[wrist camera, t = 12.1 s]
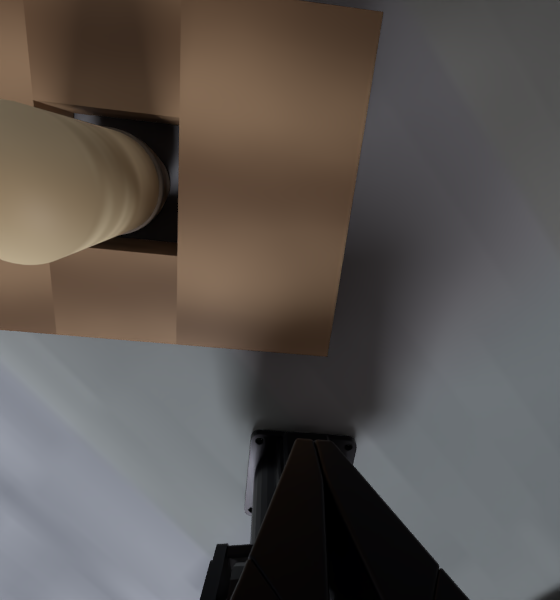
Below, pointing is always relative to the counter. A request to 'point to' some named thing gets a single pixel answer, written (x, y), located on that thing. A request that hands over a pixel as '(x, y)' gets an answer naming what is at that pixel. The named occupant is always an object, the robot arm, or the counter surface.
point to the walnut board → (204, 164)
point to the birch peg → (71, 184)
